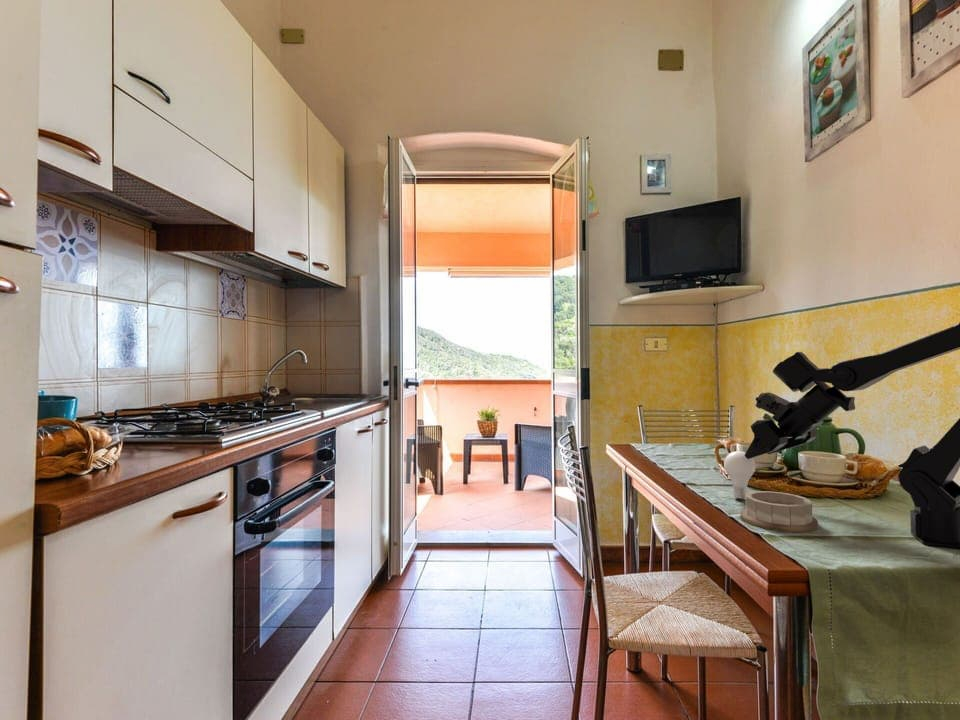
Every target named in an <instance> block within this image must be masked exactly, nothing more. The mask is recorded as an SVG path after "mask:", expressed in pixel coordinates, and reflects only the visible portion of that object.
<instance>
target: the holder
mask: <svg viewBox="0 0 960 720" xmlns="http://www.w3.org/2000/svg"><path fill="white" fill-rule="evenodd" d="M740 519H741V520H742V521H743V522H745V523H747V524H748V525H751V526H754V527H758V528H762V529H766V530H771V531H778V532H784V533H810V532H814V531H817V530H818V528H819V520H818V519H817V518H815V517H814V516H813V503H812V501H811V499H809V498H806V497H803V496H802V495H797V494H793V493H789V492H788V493H786V492H781V491H779V492H778V491H769V490H765V491H764V490H761V491H759V490H757V491H751V492H747V493H746V498H745V508H742V509H741V510H740Z"/></svg>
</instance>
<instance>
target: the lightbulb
mask: <svg viewBox="0 0 960 720" xmlns="http://www.w3.org/2000/svg"><path fill="white" fill-rule="evenodd" d="M745 453H746V451H742V450H736V451H731V452H730V453H728V454H727V455H726V457H724V461H723V466H724V470H725V472H726V473H727V475H728V476H729V478H730V481H731V485H732V489H733V497H734V498H736V499H737V500H738V501H742V500H744V499H746V493H748V492H747V487H748V485H749V480H750V479H751V477H752V476H753V475H754V473H755V471H756V462H755V459H754V457H753V458H750V459H747V458H746V457H745Z"/></svg>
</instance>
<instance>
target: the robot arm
mask: <svg viewBox="0 0 960 720" xmlns="http://www.w3.org/2000/svg"><path fill="white" fill-rule="evenodd" d="M959 350H960V321H959V322H958V323H956V324H954V325H953V326H950V327H948V328H946V329H942V330H940V331H936V332H934V333H932V334H929V335H925V336H924V337H921V338H919V339H917V340H916V339H915V340H914V341H911V342H908V343H905V344H903V345H899V346H897V347H895V348H892V349H889V350H887V351H884V352H881V353H877V354H872V355H868V356H862V357H857V358H852V359H848V360H843V361H840V362H836V363H835V364H833V365H832V366H831V367H830V368H819V367H818V366H817V365H816V364H815V363H813V361H812V360H810V359H809V358H808V356H807V355H806V354H805V353H803V351H796V352H795V353H794V354H793V355H790V356H789V357H786V359H784V360H783V361H779V362H778V363H777V365H775V367H774V368H773V370H772V373H773V374H774V375H775V376H776V377H777V378H778V379H779V380H780V381H781V382H782V383H783V384H784V385H785V386H787V388H789V389H790V391H792V392H793V393H797V392H798V391H799V392H800V393H802V394H803V393H804V395H802V396H801V397H800V398H799V399H798V400H797V401H789V400H787V399H785V398H782V397H781V396H779V395H777V394H775V393H772V392H768V391H767V392H761V393H760V394H759V395H758V396H757V397H755V401H756V403H755V405H754V406H755V407H756V408H757V409H761V410H764V411H765V412H767V413H769V414H771V415H773V416H771V419H767V418H766V419H758V420H756V421H754V422H753V423H752V424H751V425H750V429H751V431H752V433H753V436H754V437H753V439H752V441H751V443H750V444H749V447H748V448H747V450H746V451H745V457H746V458H747V459H750V458H753V459H754V458H757V457H759V456H763V455H765V454H766V455H771V454H775V453H779V452H782V451H785V450H789V449H792V448H795V447H799V446H802V445H805V444H807V443H811V442H813V440H815V439H816V438H818V430H817V429H816V428H815V427H817V426H818V427H819V426H822V424H823V423H825V421H824V420H825V419H826V418H828V417H829V416H831V414H833V413H834V412H835V411H836V410H837V409H839V408H841V409H842V410H844V411H845V412H849V411H850V412H851V411H855V410H856V404H855V399H856V397H855V396H847V395H846V394H845V393H843V392H856V391H863V390H865V389H867V388H869V387H871V386H872V387H873V385H875V384H878V383H879V382H881V381H883V380H884V379H886V378H887V377H889V376H891V375H892V374H894V373H897V372H899V371H901V370H904V369H907V368H910V367H913V366H915V365H918V364H921V363H925V362H927V361H929V360H932V359H935V358H938V357H941V356H944V355H947V354H949V353H953V352H956V351H959ZM829 384H831V385H832V386H830V385H829ZM808 390H809V391H808ZM773 420H774V421H775V422H777V424H776V423H775V422H774V421H773ZM897 466H898V468H901V469H900V471H899V473H898V476H897V479H898V481H899V484H900V486H901V488H902V489H903V490H904V491H905V492H906V493H907V494H909V495H910V498H911V500H912V501H913V505H914V506H913V507H914V508H913V509H910V534H911V535H913V536H914V537H915V539H917V540H918V541H919V542H921V543H922V544H923V545H927V546H928V545H929V546H934V547H935V546H938V547H945V548H954V549H955V548H956V549H960V485H959V483H957V481H955V480H954V479H955V477H956V475H957V473H958V472H959V470H960V417H959V419H957V420H956V422H955V423H954V424H953V425H951V427H950V428H949V430H948V431H947V432H946V433H945V434H944V435H943V436H942V437H941V439H940V440H939V441H938V442H936V444H935V445H933V446H932V447H930V448H929V447H927V446H926V445H922V446H918V447H915V448H913V449H912V451H911V452H910V454H909V456H908V457H907V459H906V460H905V461H904V462H903V463H900V464H898V465H897Z"/></svg>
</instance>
